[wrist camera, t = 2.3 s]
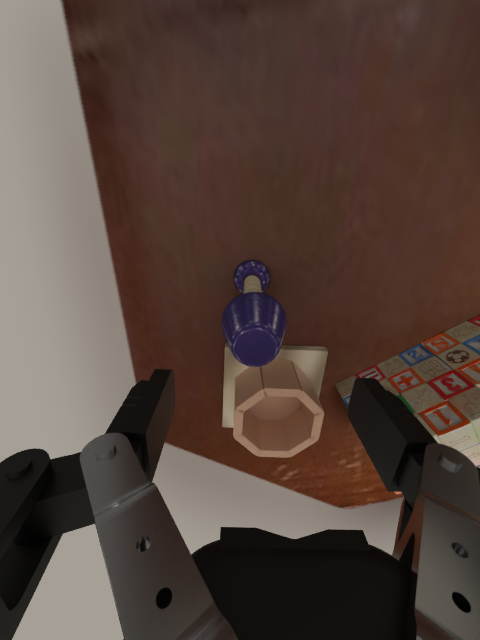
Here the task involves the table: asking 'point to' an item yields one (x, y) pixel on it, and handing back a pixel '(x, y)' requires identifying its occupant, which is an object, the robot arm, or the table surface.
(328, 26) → the table surface
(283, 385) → the beige octagonal hollow piece
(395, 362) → the stack of blocks
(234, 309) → the toy lamp
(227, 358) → the birch board
